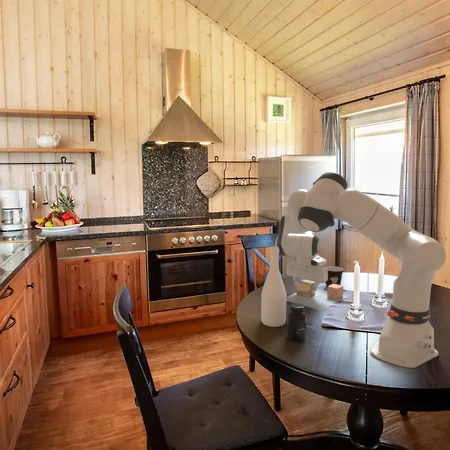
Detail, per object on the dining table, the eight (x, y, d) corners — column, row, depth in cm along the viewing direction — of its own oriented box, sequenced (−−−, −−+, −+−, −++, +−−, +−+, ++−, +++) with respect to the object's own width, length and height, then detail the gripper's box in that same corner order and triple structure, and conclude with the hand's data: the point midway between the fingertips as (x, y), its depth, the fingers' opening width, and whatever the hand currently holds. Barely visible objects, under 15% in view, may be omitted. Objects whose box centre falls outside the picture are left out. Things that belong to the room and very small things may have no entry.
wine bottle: (290, 322, 155) (292, 246, 150) (276, 330, 148) (277, 251, 144) (270, 316, 162) (271, 243, 157) (256, 323, 155) (256, 247, 150)
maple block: (307, 298, 179) (308, 285, 178) (296, 295, 183) (296, 282, 182) (315, 294, 183) (315, 282, 182) (303, 292, 187) (304, 279, 186)
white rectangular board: (320, 313, 164) (320, 310, 164) (281, 301, 178) (281, 298, 178) (348, 298, 181) (348, 295, 181) (310, 289, 195) (310, 286, 195)
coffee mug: (344, 287, 197) (345, 267, 195) (339, 292, 190) (339, 272, 188) (321, 283, 203) (322, 264, 202) (315, 288, 196) (316, 268, 194)
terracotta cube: (337, 299, 177) (337, 288, 176) (327, 296, 180) (327, 286, 179) (342, 296, 180) (343, 286, 179) (332, 294, 184) (333, 283, 183)
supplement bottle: (301, 343, 137) (302, 310, 135) (283, 339, 141) (284, 306, 139) (308, 336, 143) (309, 304, 141) (291, 332, 146) (291, 300, 145)
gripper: (283, 256, 185) (283, 285, 187) (322, 263, 171) (321, 294, 173) (291, 253, 190) (291, 282, 192) (330, 261, 175) (329, 291, 178)
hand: (305, 288), depth 182 cm, fingers open, 8 cm apart
